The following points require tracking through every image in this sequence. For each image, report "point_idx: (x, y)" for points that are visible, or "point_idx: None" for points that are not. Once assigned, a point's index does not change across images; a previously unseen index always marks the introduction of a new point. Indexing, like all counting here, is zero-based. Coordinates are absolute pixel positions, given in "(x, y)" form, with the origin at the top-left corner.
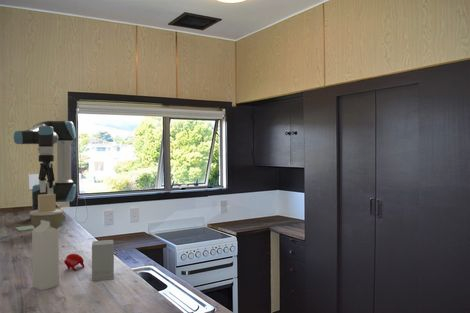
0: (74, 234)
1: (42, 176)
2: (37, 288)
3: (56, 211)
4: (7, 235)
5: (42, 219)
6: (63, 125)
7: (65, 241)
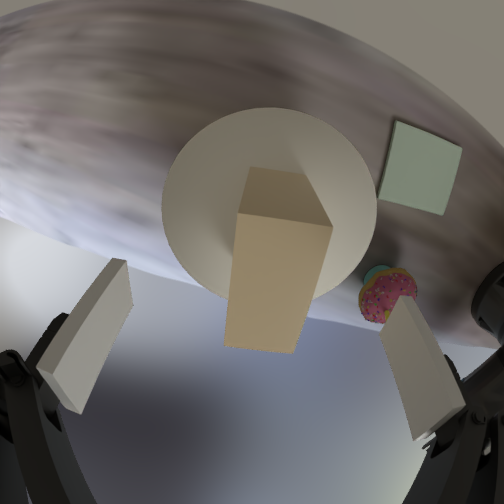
0: (147, 235)
1: (434, 483)
2: None
3: (192, 247)
4: (351, 46)
5: None
6: None
7: (65, 168)
